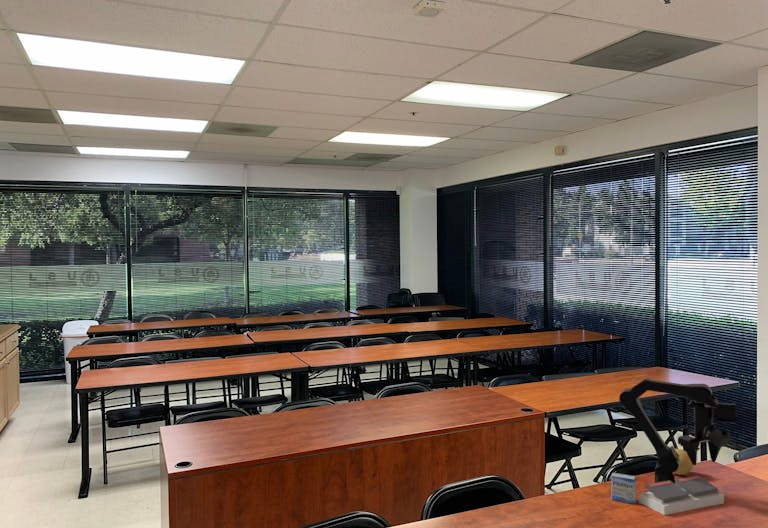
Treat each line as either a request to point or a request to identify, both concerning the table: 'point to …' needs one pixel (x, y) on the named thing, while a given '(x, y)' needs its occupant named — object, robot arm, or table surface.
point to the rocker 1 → (666, 491)
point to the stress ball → (683, 463)
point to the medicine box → (623, 488)
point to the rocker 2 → (696, 485)
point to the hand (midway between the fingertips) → (704, 463)
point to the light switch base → (681, 502)
